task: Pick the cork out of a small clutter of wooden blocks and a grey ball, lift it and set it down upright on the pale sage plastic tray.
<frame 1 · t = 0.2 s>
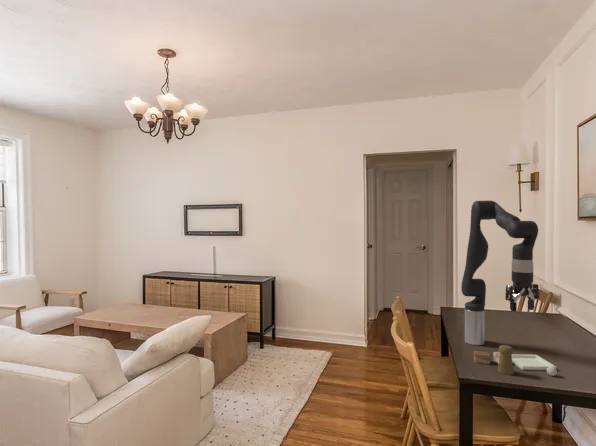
hand: (522, 310, 149), 27 cm above the table, fingers open, 8 cm apart
cork: (505, 372, 156), on the table
maple block: (500, 362, 167), on the table
walnut block: (481, 362, 167), on the table
grey ball: (551, 371, 152), point 2 cm above the table
tray: (529, 363, 164), on the table
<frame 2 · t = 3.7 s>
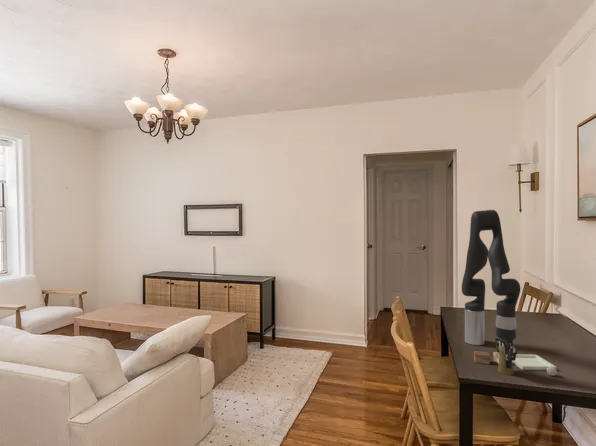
hand: (505, 366, 156), 2 cm above the table, fingers closed on cork, 3 cm apart
cork: (505, 372, 156), on the table, touching gripper
everything else where it was.
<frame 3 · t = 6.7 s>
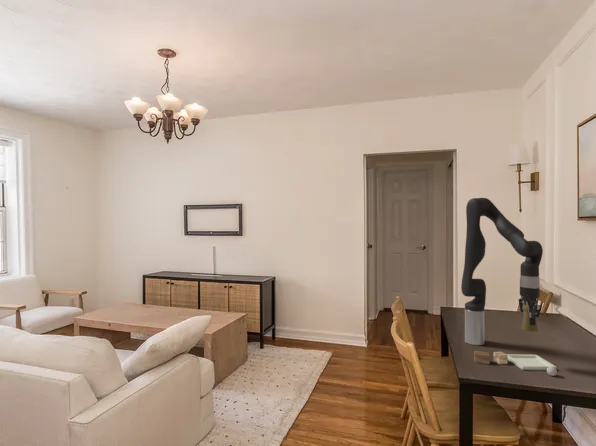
hand: (529, 324, 164), 18 cm above the table, fingers closed on cork, 3 cm apart
cork: (529, 329, 164), point 15 cm above the table, touching gripper
everything else where it was.
when the fingers open (5 cm above the table, at t = 9.6 s): cork drops 2 cm, resting on tray.
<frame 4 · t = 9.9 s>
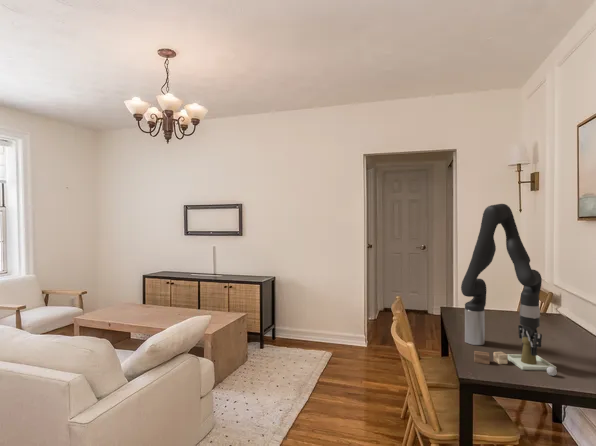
hand: (529, 352, 164), 5 cm above the table, fingers open, 6 cm apart
cork: (528, 362, 165), resting on tray, touching gripper
everything else where it was.
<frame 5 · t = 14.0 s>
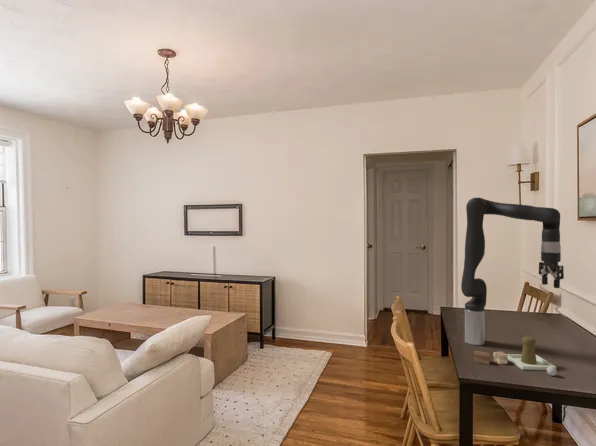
hand: (550, 286, 171), 33 cm above the table, fingers open, 8 cm apart
cork: (528, 362, 165), resting on tray
everything else where it was.
at the end: cork inside the target area on the tray (0.6 cm from its centre), point 0.4 cm above the tray's base; cork tilted 0°; the gripper is holding nothing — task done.
